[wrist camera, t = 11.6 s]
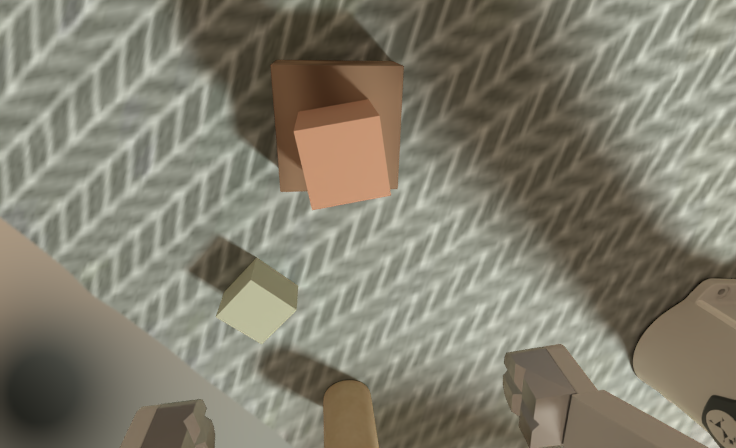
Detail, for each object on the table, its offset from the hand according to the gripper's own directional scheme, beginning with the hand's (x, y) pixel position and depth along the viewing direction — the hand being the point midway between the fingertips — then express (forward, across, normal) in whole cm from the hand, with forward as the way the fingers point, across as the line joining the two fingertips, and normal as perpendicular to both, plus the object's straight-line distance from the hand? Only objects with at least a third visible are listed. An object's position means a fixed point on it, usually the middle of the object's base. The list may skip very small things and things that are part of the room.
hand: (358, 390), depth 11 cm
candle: (+26, +2, +30) cm, 40 cm away
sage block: (+26, +9, +14) cm, 31 cm away
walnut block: (+27, 0, -2) cm, 27 cm away
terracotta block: (+22, 0, -1) cm, 22 cm away
